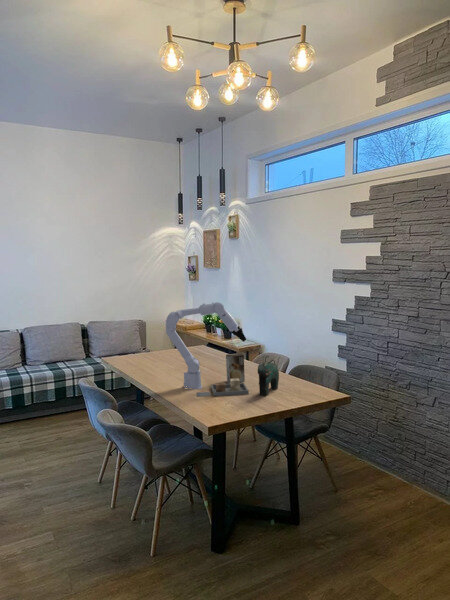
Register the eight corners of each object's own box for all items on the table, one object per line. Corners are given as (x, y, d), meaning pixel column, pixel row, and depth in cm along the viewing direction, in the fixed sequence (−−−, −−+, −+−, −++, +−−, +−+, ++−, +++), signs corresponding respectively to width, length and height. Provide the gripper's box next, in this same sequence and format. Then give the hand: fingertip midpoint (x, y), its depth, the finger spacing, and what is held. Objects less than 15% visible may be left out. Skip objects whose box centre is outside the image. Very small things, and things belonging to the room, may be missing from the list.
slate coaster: (197, 397, 226) (197, 396, 226) (196, 393, 233) (196, 392, 233) (210, 396, 227) (210, 395, 227) (209, 392, 234) (209, 391, 234)
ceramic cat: (266, 398, 222) (265, 359, 220) (254, 397, 225) (253, 358, 224) (281, 388, 239) (280, 351, 238) (270, 387, 242) (269, 351, 241)
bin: (213, 397, 226) (213, 392, 226) (211, 389, 241) (211, 384, 241) (248, 395, 229) (248, 390, 228) (244, 387, 243) (243, 382, 243)
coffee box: (241, 380, 259) (240, 352, 257) (245, 382, 253) (244, 355, 251) (226, 381, 256) (225, 354, 255) (229, 384, 250) (228, 356, 249)
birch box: (231, 392, 233) (231, 380, 232) (230, 389, 237) (230, 378, 237) (239, 391, 233) (239, 380, 233) (238, 389, 238) (238, 378, 237)
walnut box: (216, 394, 229) (216, 385, 228) (216, 392, 233) (215, 383, 233) (225, 394, 229) (225, 384, 229) (224, 391, 234) (224, 382, 233)
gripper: (235, 317, 236) (251, 336, 237) (232, 315, 250) (247, 333, 251) (225, 325, 235) (241, 345, 236) (222, 323, 250) (237, 341, 251)
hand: (243, 339), depth 244 cm, fingers open, 7 cm apart
